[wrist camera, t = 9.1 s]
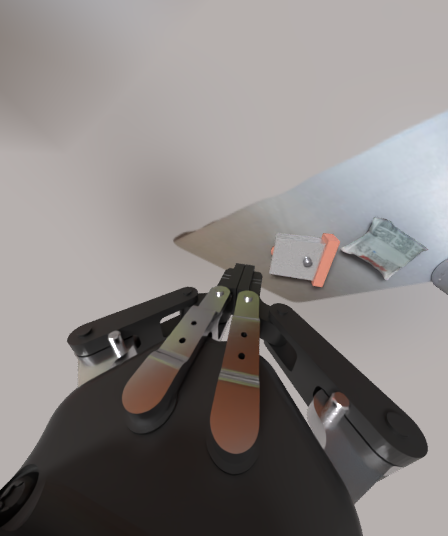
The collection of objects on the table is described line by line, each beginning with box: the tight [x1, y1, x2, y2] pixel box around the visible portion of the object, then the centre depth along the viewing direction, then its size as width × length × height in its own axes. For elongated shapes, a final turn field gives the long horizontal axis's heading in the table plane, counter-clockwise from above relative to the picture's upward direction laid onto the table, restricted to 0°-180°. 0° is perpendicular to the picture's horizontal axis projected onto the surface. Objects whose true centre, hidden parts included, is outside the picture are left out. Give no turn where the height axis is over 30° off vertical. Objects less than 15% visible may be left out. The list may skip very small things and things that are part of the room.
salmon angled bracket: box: [271, 233, 340, 287], centre depth 39 cm, size 12×11×5 cm
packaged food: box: [341, 218, 428, 280], centre depth 34 cm, size 9×12×5 cm
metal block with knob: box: [269, 233, 326, 281], centre depth 39 cm, size 10×9×6 cm
